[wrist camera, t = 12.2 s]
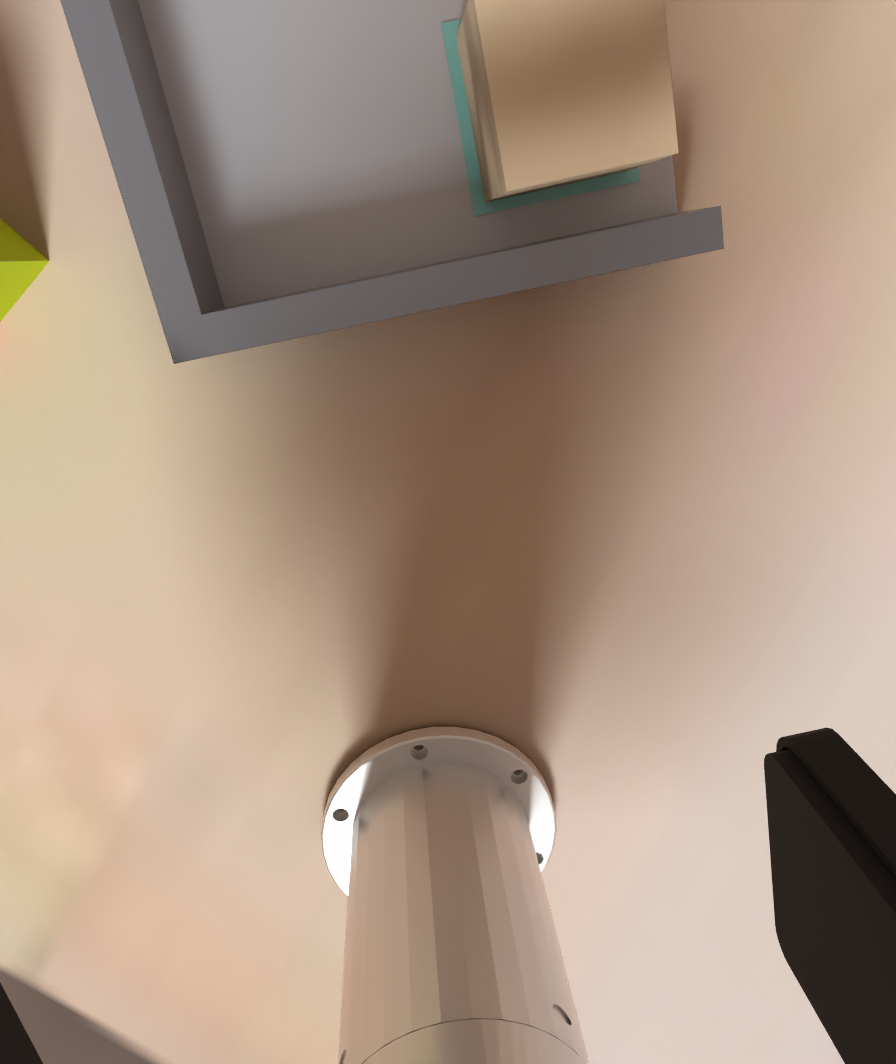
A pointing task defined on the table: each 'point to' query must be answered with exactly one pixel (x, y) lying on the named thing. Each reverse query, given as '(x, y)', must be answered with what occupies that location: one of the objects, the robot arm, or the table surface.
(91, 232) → the table surface
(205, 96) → the arena
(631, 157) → the birch block
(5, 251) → the puzzle toy
